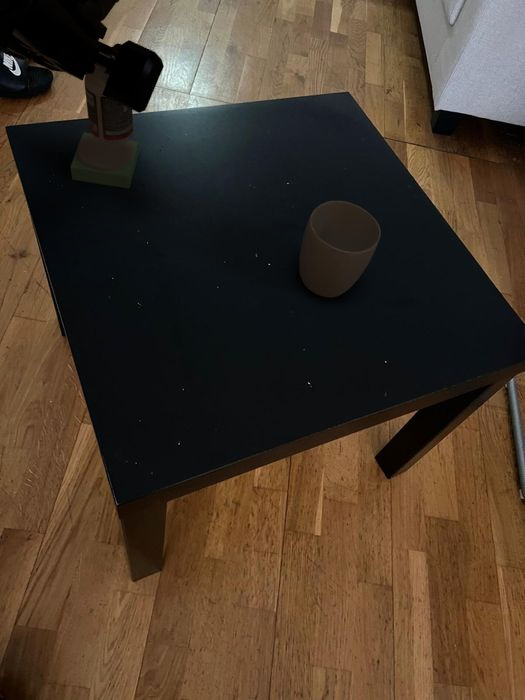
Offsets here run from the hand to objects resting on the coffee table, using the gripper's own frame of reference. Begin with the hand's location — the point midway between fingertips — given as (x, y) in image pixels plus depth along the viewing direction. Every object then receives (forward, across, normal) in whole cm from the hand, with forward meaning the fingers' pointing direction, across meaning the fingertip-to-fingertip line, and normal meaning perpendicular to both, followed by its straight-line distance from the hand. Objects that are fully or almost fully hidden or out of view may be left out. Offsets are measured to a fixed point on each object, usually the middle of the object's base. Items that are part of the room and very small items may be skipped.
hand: (114, 80), depth 68 cm
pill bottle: (+4, 0, +6) cm, 7 cm away
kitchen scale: (+9, +2, +10) cm, 13 cm away
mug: (+10, -34, +9) cm, 37 cm away
